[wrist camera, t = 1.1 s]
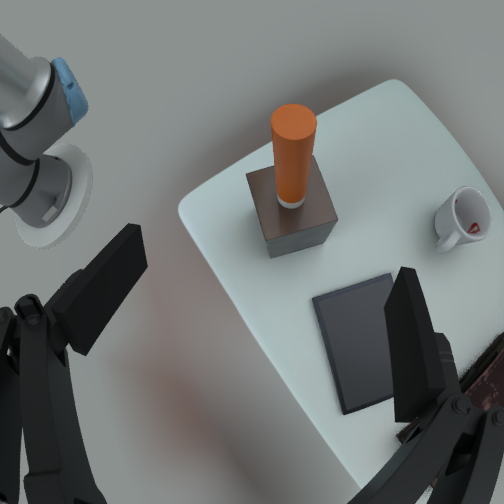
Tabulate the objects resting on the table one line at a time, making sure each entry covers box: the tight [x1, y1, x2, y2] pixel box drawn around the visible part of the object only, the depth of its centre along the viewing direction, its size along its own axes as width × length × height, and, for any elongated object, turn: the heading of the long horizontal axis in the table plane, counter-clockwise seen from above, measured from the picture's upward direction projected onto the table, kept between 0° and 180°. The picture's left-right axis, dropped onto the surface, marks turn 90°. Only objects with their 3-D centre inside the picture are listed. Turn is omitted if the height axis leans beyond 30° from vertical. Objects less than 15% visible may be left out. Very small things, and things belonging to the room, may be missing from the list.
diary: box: [396, 332, 504, 489], centre depth 32 cm, size 19×25×5 cm
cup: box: [435, 186, 492, 254], centre depth 37 cm, size 11×8×8 cm
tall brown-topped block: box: [246, 155, 338, 259], centre depth 38 cm, size 8×8×12 cm
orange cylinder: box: [271, 104, 317, 209], centre depth 25 cm, size 3×3×14 cm
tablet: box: [312, 273, 394, 415], centre depth 39 cm, size 12×18×1 cm, turn 15°
